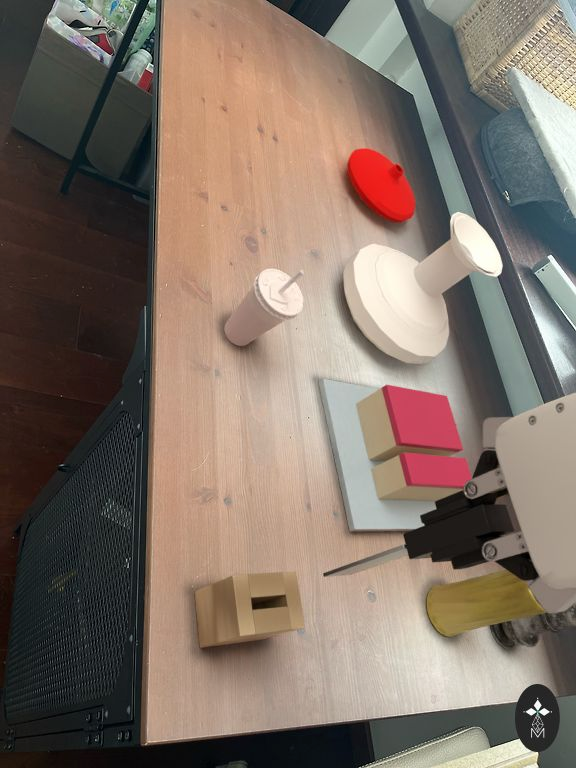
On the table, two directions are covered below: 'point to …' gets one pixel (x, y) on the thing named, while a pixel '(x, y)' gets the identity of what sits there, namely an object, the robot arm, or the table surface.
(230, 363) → the table surface
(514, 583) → the vase
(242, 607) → the knife block
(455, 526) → the knife
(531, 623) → the salt shaker
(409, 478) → the cake slice
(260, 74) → the table surface
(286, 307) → the smoothie
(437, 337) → the candle holder
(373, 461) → the cake plate
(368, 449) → the cake
